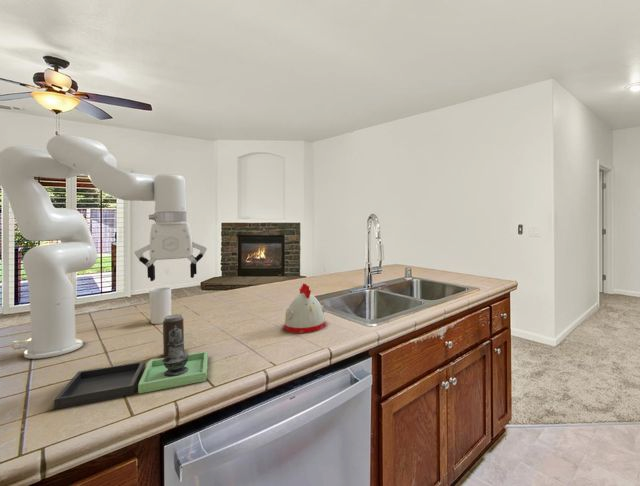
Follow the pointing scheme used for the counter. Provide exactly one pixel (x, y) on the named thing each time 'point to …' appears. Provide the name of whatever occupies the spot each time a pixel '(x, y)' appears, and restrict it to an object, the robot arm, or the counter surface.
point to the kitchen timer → (304, 313)
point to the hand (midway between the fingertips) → (173, 278)
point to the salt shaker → (175, 354)
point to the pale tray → (157, 380)
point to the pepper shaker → (169, 325)
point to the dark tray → (100, 384)
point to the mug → (160, 304)
